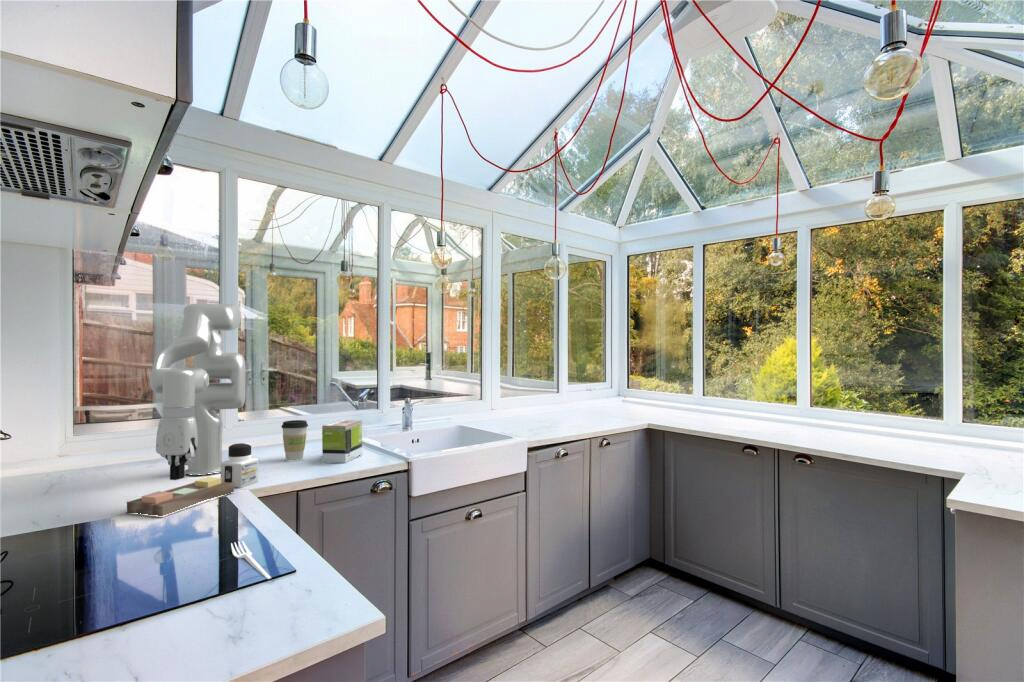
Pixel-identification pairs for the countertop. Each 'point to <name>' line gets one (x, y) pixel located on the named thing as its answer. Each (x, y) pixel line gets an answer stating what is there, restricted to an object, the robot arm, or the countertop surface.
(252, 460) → the container
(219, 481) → the ochre key
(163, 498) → the terracotta key
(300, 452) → the coffee cup
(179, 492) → the sage key
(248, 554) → the fork
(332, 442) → the tea box
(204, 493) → the key panel
